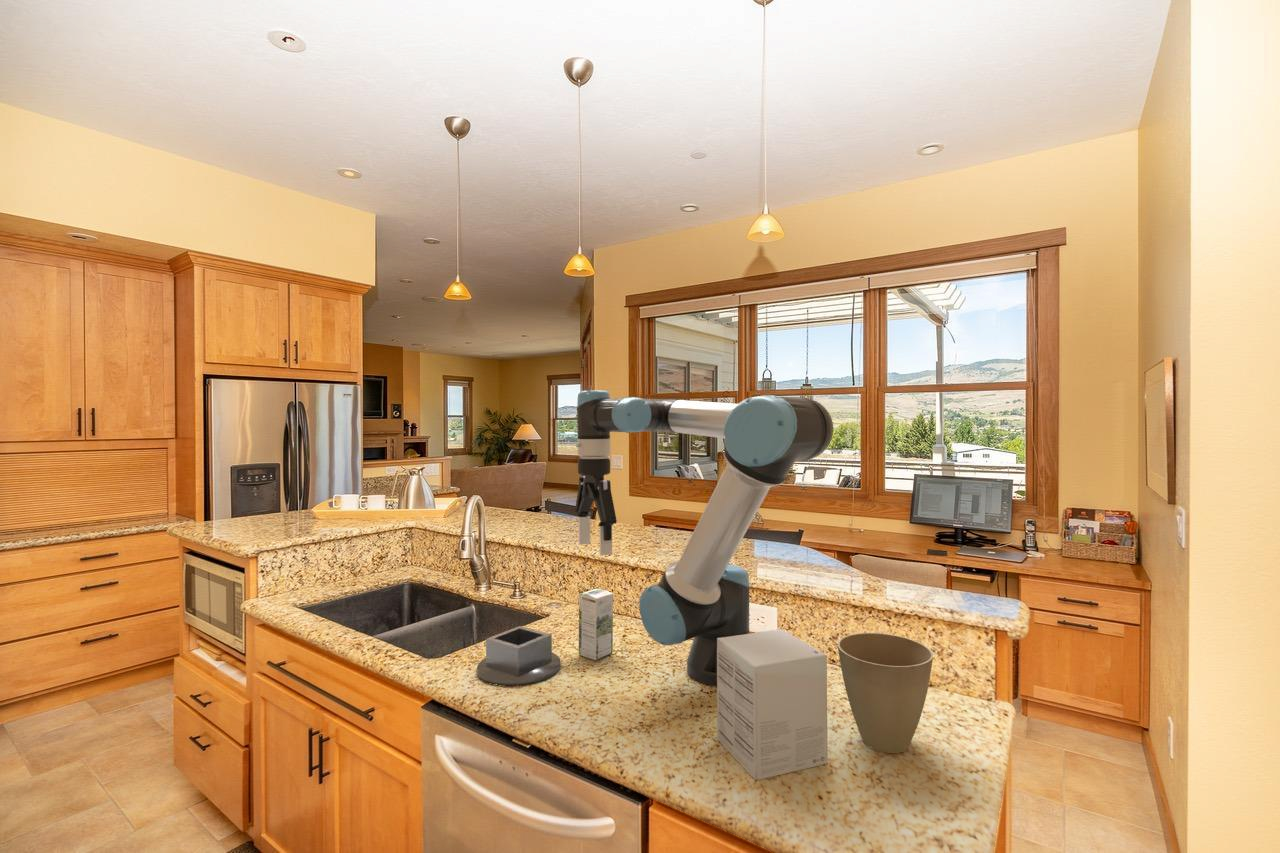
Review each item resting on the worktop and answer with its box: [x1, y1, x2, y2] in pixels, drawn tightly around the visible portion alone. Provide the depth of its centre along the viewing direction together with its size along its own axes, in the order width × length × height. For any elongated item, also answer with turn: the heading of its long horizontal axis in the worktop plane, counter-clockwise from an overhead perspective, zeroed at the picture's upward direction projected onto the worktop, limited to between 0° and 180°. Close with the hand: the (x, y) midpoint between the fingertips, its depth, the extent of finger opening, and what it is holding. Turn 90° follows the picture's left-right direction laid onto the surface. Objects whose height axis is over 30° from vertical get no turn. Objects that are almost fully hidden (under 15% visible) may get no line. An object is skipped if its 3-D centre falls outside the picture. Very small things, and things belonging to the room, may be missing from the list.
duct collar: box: [476, 625, 562, 687], centre depth 134 cm, size 18×18×7 cm
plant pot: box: [837, 632, 934, 754], centre depth 102 cm, size 15×15×16 cm
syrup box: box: [578, 588, 614, 661], centre depth 141 cm, size 6×6×14 cm
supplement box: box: [716, 628, 829, 781], centre depth 100 cm, size 13×13×18 cm
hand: (594, 549), depth 141 cm, fingers open, 13 cm apart
